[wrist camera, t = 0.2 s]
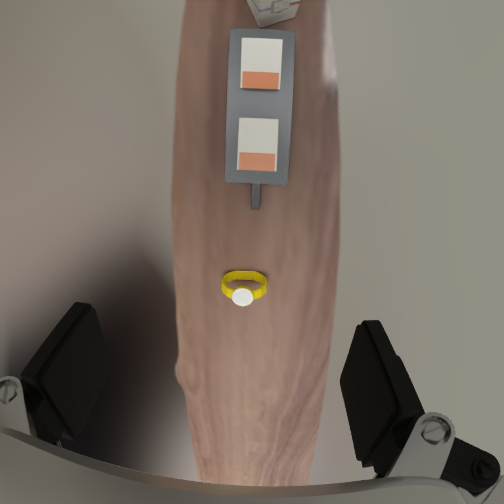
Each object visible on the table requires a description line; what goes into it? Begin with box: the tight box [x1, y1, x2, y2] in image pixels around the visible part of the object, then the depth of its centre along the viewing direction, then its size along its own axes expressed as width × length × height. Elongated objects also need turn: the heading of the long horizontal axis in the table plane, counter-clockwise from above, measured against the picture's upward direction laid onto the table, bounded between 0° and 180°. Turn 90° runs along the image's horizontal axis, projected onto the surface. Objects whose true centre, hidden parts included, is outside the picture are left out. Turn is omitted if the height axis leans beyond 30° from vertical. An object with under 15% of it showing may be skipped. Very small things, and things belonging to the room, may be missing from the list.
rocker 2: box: [237, 118, 279, 172], centre depth 30 cm, size 6×4×2 cm
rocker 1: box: [240, 38, 283, 90], centre depth 26 cm, size 6×4×2 cm
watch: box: [222, 270, 267, 306], centre depth 41 cm, size 6×3×6 cm, turn 88°
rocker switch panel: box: [225, 28, 295, 210], centre depth 32 cm, size 22×7×5 cm, turn 178°
